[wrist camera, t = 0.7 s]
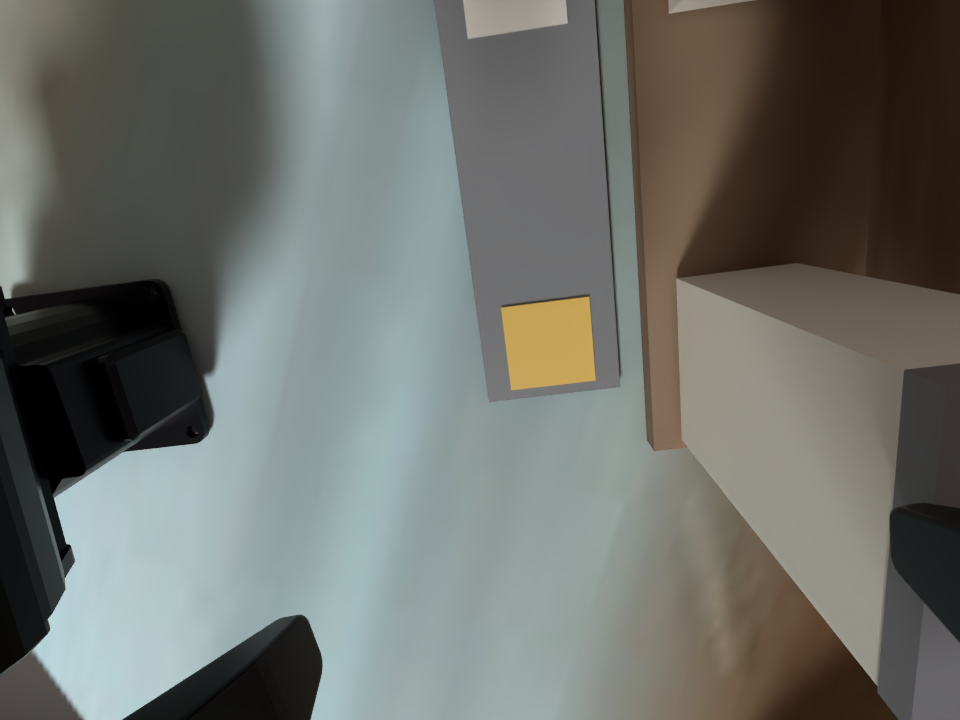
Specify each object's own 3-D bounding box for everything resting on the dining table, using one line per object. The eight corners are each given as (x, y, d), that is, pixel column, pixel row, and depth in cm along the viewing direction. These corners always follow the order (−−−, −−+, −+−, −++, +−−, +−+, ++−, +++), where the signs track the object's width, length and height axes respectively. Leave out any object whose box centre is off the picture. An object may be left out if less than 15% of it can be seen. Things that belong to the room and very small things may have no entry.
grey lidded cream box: (680, 440, 20) (909, 733, 9) (674, 277, 18) (946, 386, 7) (793, 428, 20) (1175, 714, 9) (798, 261, 18) (1275, 350, 7)
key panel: (647, 439, 22) (768, 629, 12) (612, -216, 16) (790, -860, 6) (895, 412, 21) (1234, 589, 11) (951, -278, 15) (1720, -1094, 6)
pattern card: (489, 398, 21) (488, 402, 21) (424, -81, 17) (421, -89, 16) (617, 383, 21) (620, 387, 20) (585, -109, 17) (587, -118, 16)
